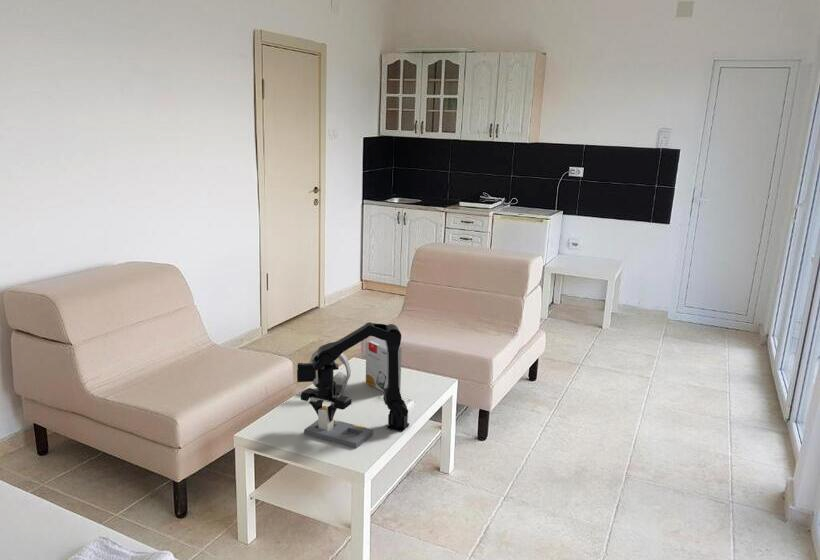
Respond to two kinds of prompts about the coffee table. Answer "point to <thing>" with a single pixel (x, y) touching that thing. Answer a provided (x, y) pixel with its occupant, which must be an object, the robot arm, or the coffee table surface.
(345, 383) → the headphones
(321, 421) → the plug
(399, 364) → the hard drive box
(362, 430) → the panel
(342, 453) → the coffee table surface
